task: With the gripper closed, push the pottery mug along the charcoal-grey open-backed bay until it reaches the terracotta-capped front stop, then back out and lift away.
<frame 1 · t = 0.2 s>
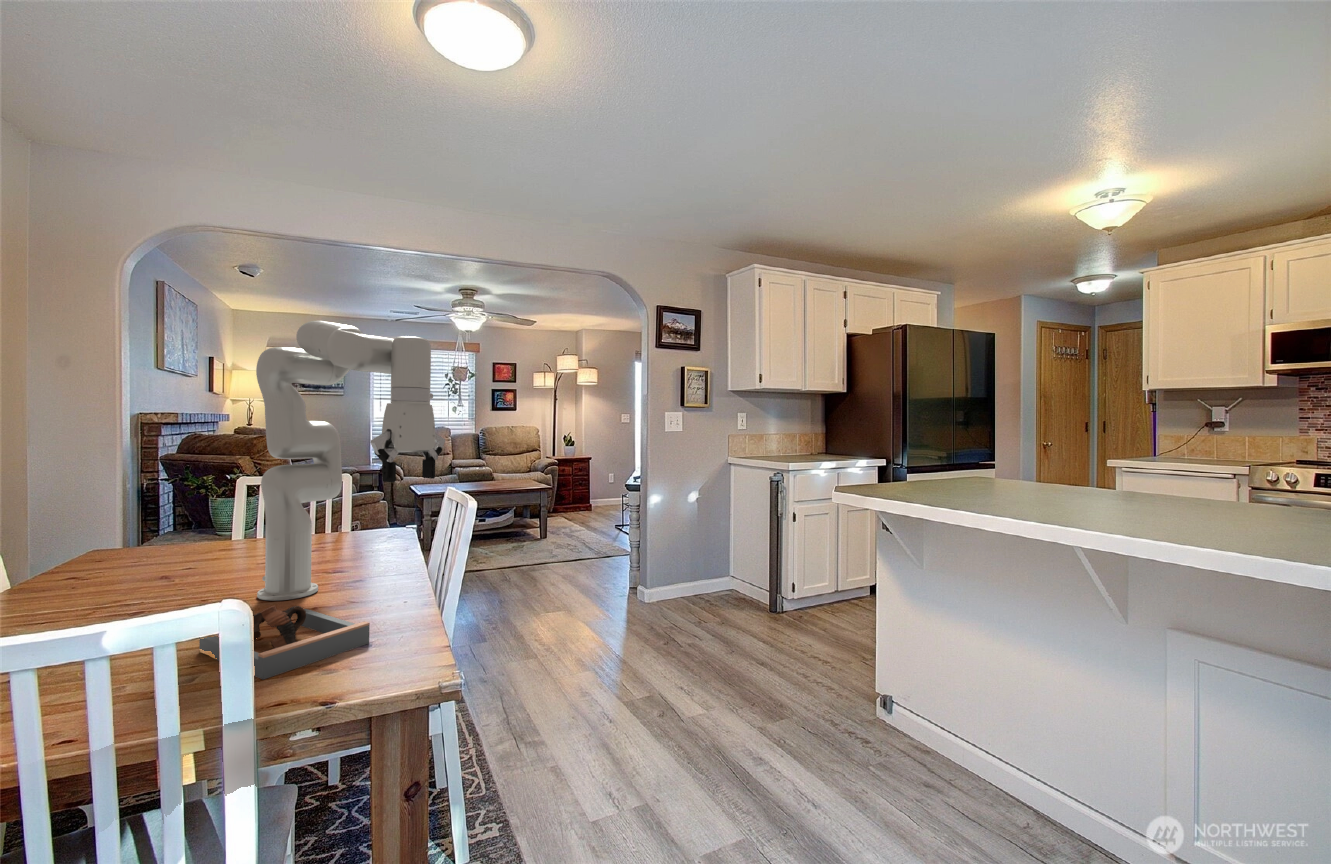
hand: (409, 479, 122), 31 cm above the table, tool pointing down, fingers open, 9 cm apart
bay: (284, 647, 111), on the table
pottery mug: (272, 644, 113), on the table
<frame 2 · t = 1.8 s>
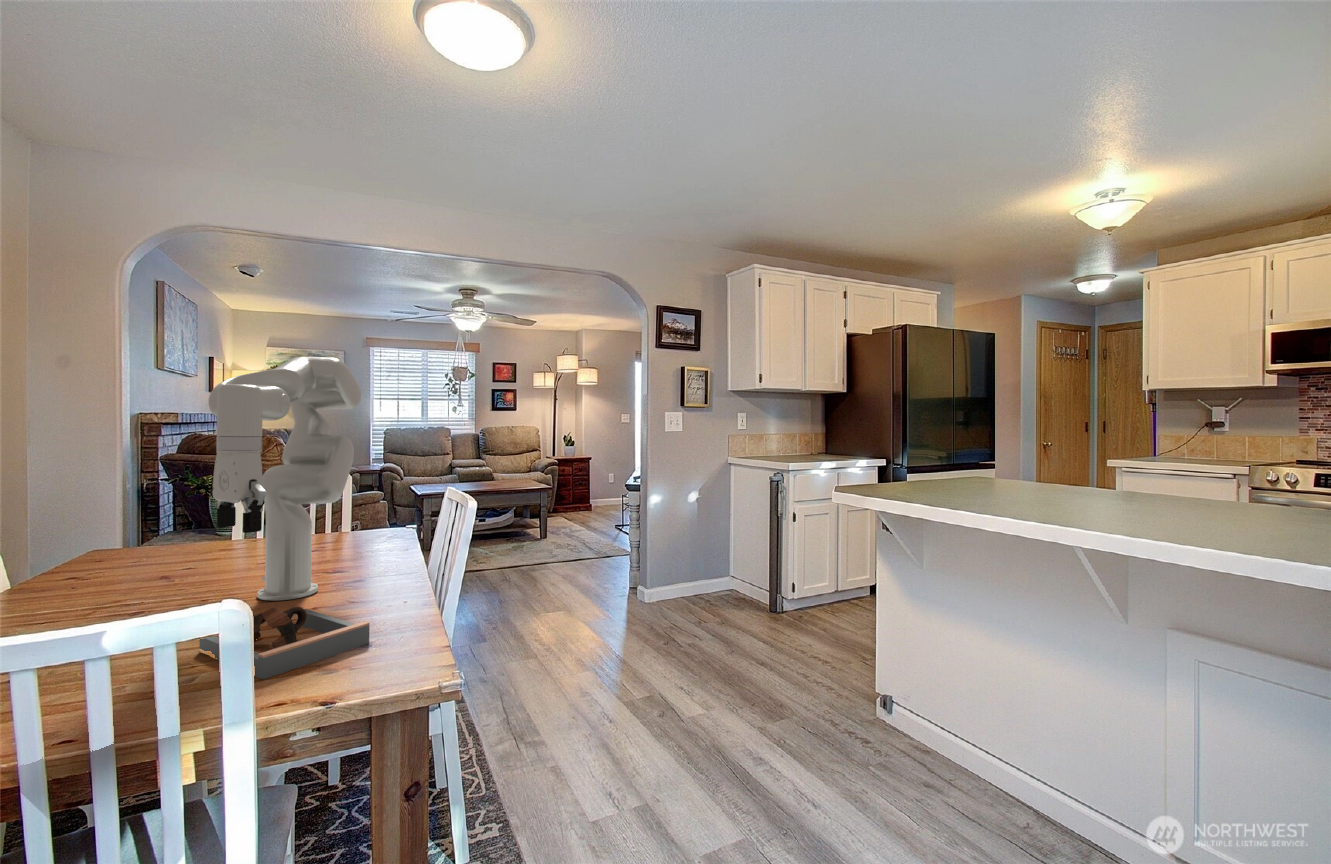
hand: (238, 529, 120), 20 cm above the table, tool pointing down, fingers open, 9 cm apart
nothing on the table moved.
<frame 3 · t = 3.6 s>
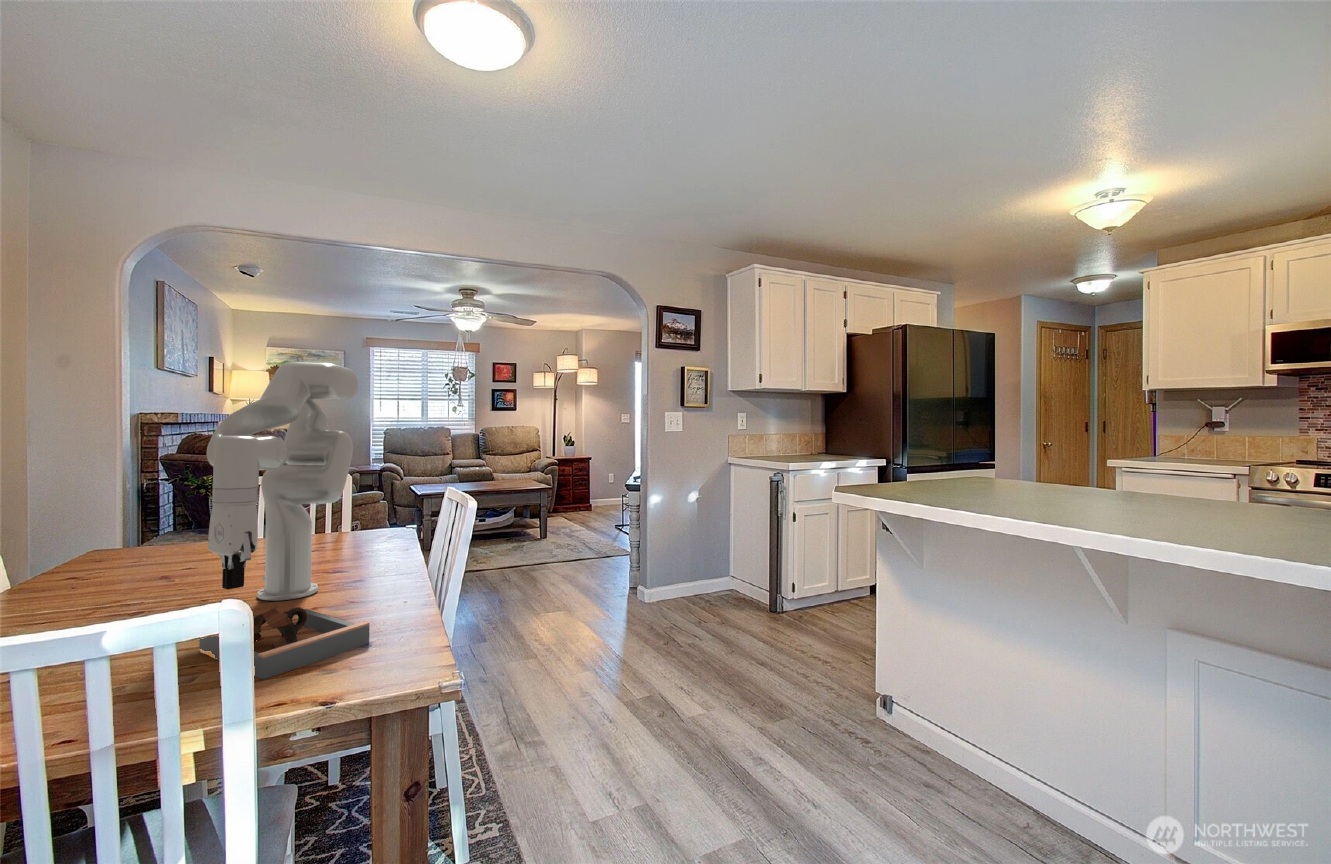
hand: (233, 587, 119), 9 cm above the table, tool pointing down, fingers closed
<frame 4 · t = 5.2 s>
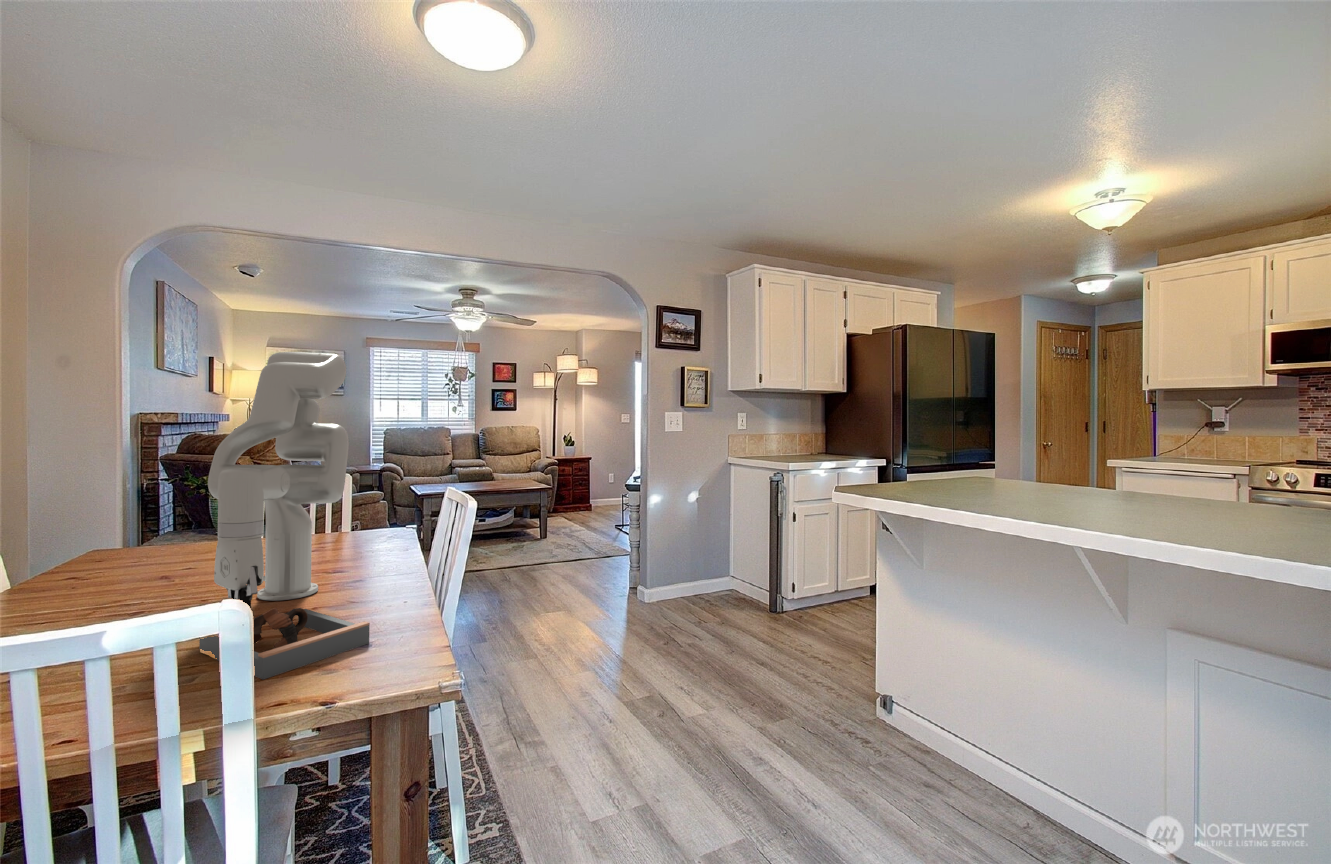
hand: (240, 620, 119), 2 cm above the table, tool pointing down, fingers closed
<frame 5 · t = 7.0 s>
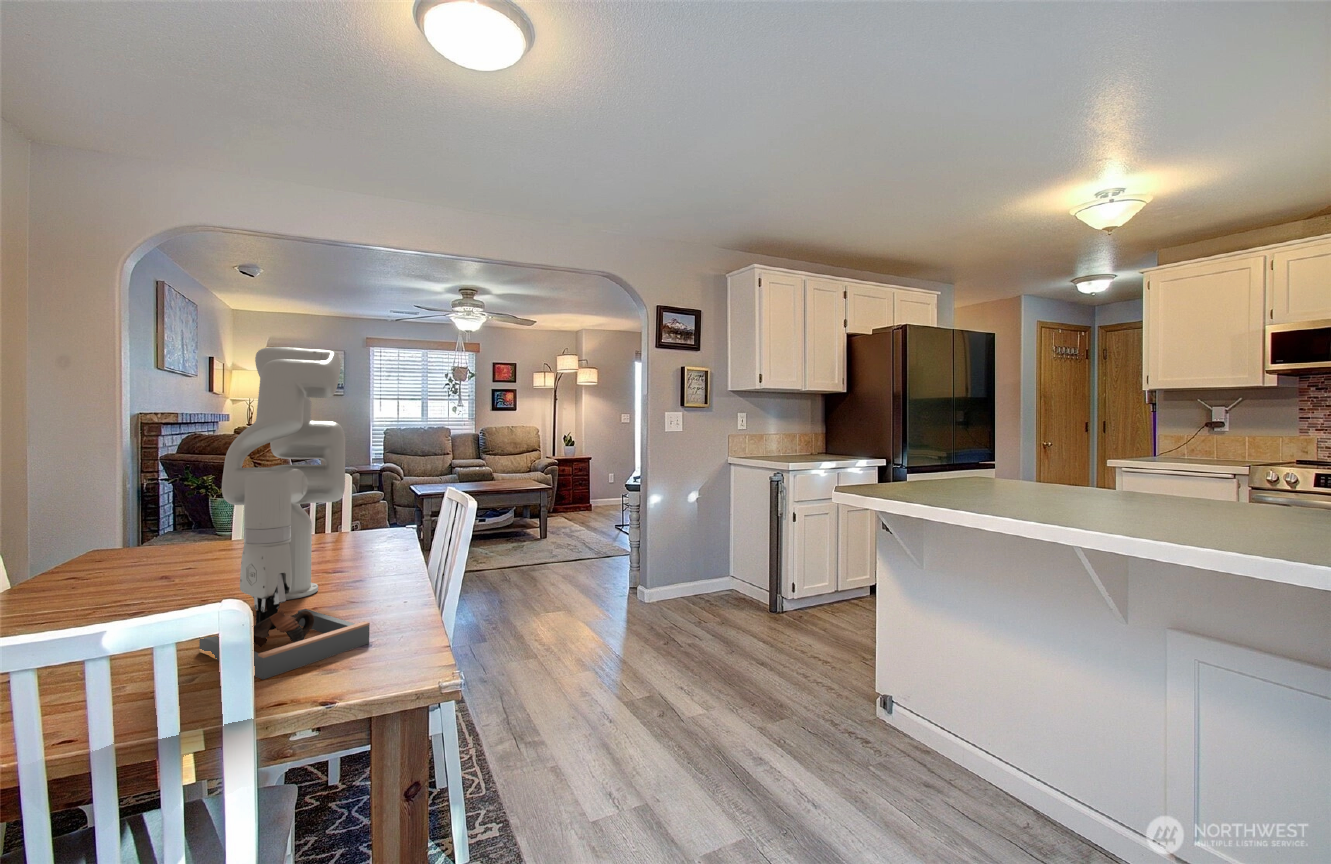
hand: (266, 629, 114), 2 cm above the table, tool pointing down, fingers closed
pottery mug: (281, 650, 110), on the table, touching gripper
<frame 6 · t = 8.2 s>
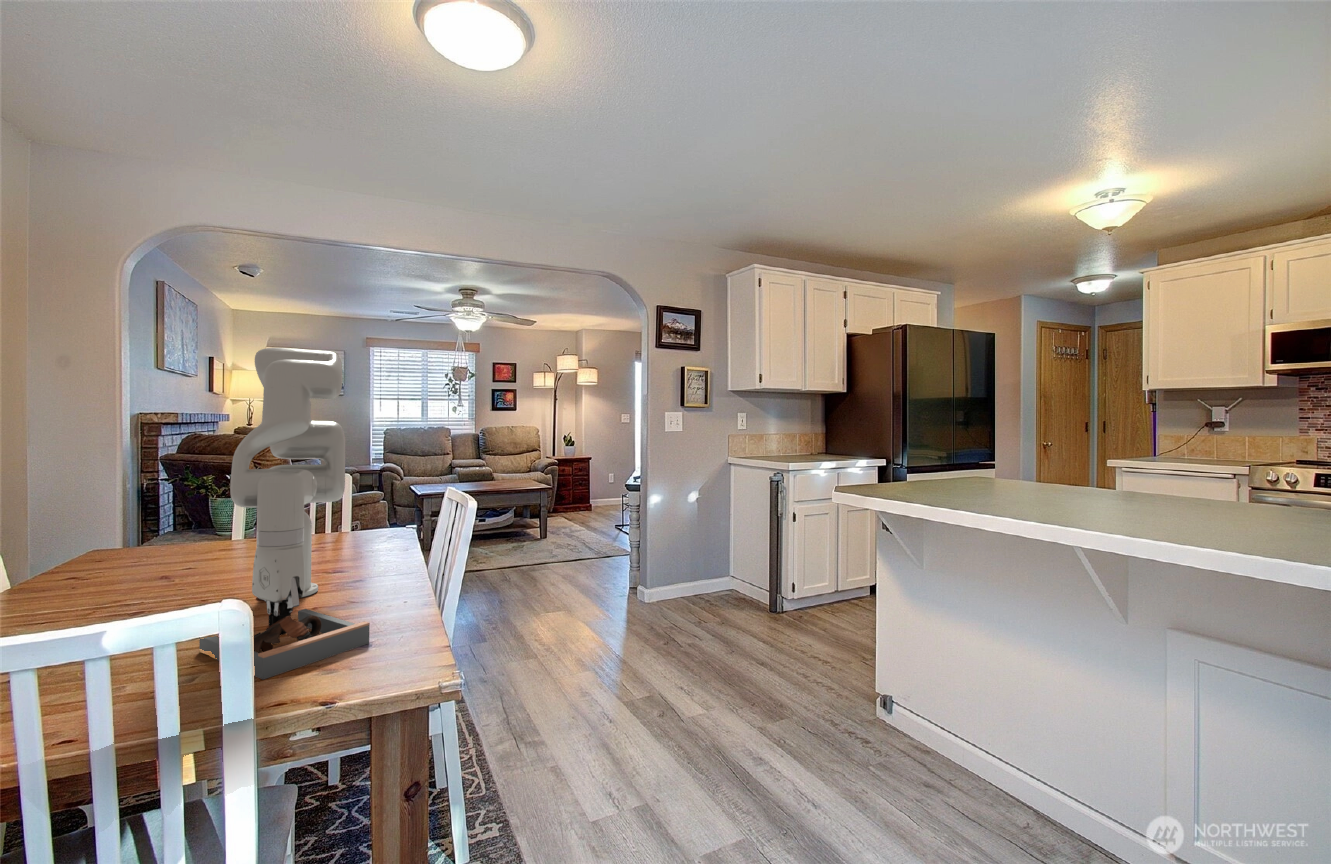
hand: (279, 634, 112), 2 cm above the table, tool pointing down, fingers closed
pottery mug: (289, 656, 108), on the table, touching gripper
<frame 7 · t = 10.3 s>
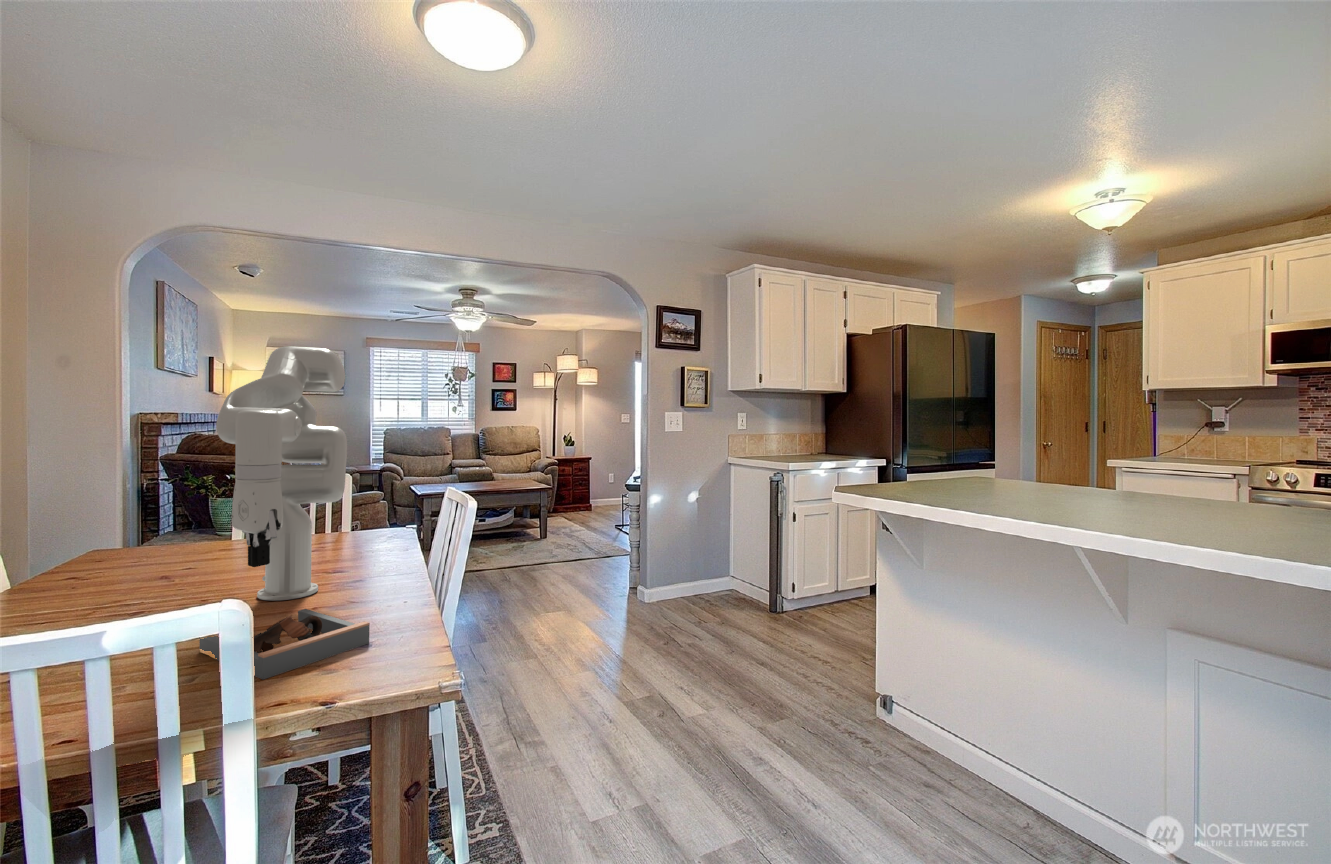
hand: (258, 565, 116), 14 cm above the table, tool pointing down, fingers closed
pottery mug: (290, 657, 107), on the table
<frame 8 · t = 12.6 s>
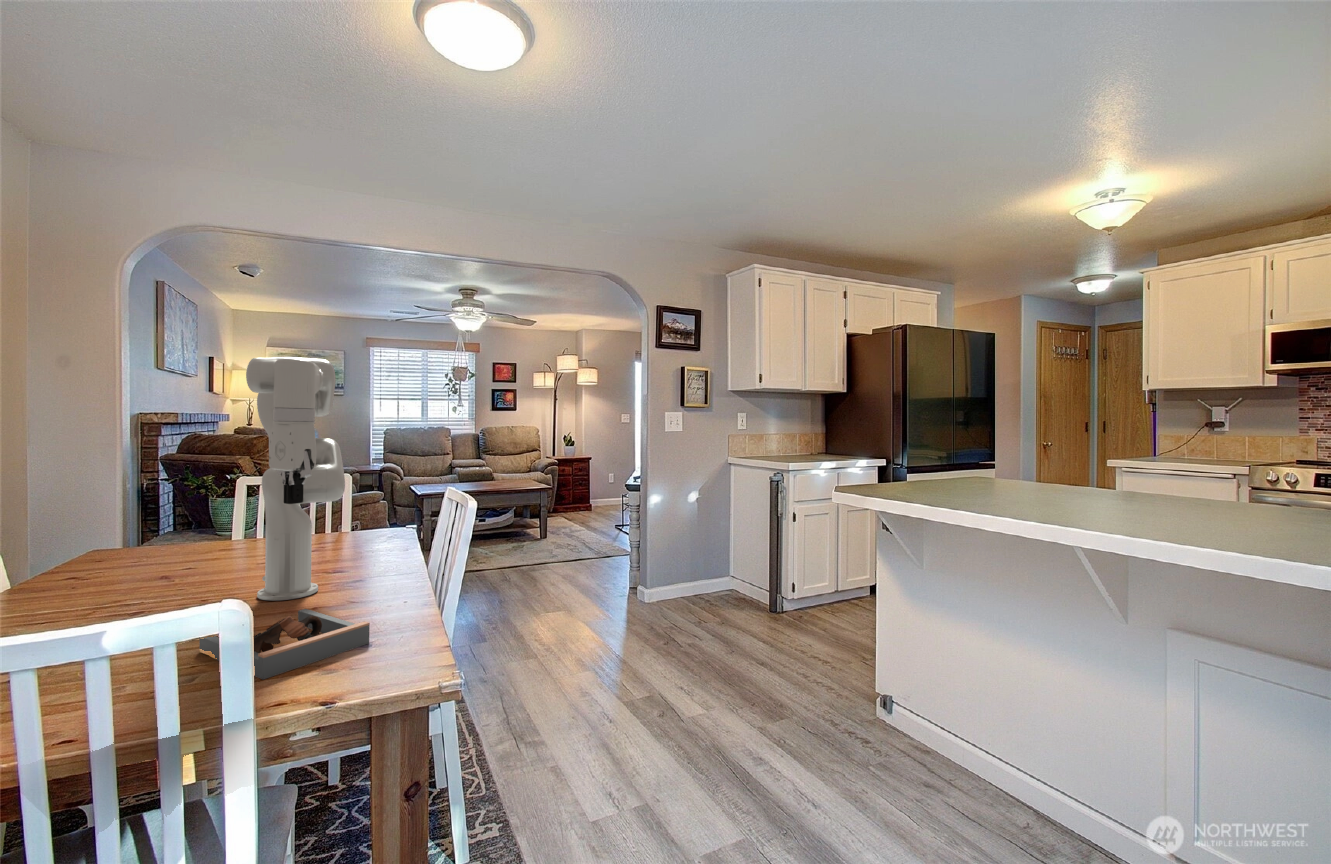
hand: (293, 503, 126), 25 cm above the table, tool pointing down, fingers closed
nothing on the table moved.
at the end: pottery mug inside the target area (1.7 cm from its centre), on the table; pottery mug tilted 0°; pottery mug moved 9.1 cm from its start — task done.
